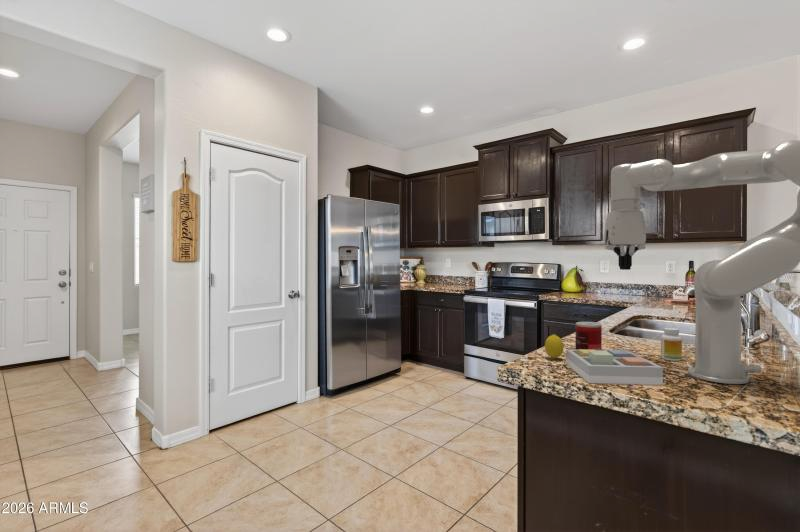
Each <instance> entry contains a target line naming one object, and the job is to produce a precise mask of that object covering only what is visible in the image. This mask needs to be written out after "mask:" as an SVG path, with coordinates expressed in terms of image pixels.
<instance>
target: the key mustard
mask: <svg viewBox="0 0 800 532" xmlns="http://www.w3.org/2000/svg"><path fill="white" fill-rule="evenodd" d="M589 351H596V350H590V349H578V355H579V356H580V357H589Z"/></svg>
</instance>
